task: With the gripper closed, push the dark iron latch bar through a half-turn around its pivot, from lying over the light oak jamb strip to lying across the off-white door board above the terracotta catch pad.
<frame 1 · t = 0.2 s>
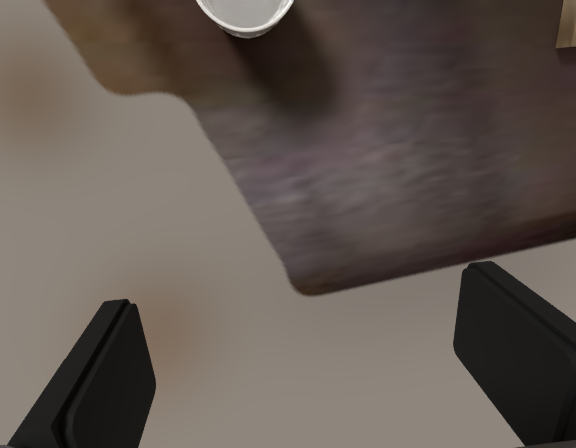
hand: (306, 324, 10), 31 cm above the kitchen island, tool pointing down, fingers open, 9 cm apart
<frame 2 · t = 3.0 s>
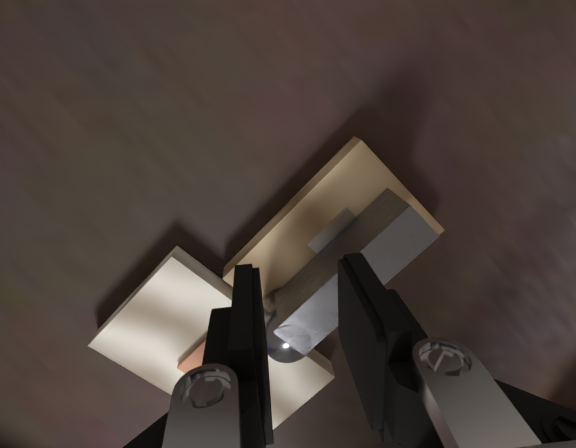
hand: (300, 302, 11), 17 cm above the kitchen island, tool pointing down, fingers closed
door and jamb: (280, 289, 31), on the kitchen island
latch bar: (336, 276, 26), point 5 cm above the kitchen island, hinge at 0.0°
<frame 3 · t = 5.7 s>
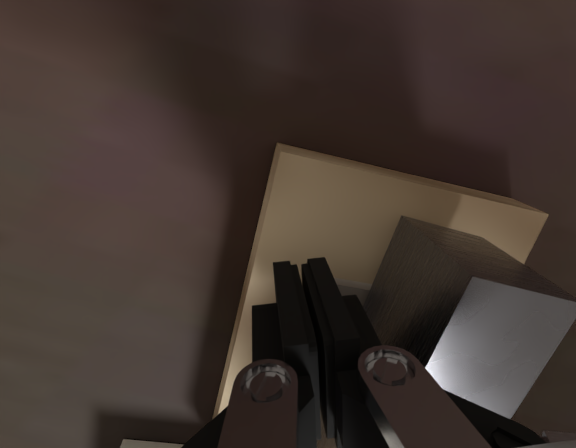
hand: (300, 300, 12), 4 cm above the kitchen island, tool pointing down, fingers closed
door and jamb: (313, 419, 18), on the kitchen island
latch bar: (382, 424, 12), point 5 cm above the kitchen island, hinge at -2.9°, touching gripper
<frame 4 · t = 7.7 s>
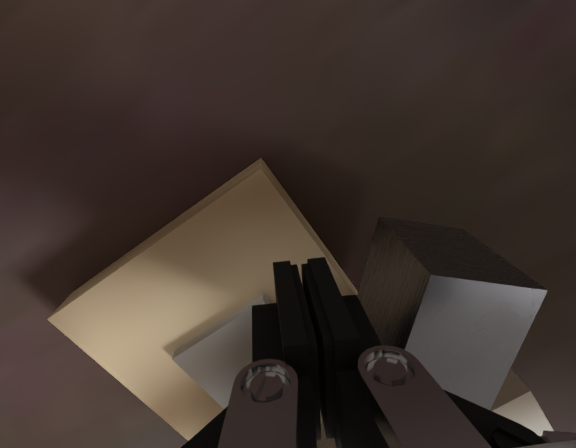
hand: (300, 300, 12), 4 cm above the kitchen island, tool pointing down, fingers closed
door and jamb: (330, 414, 19), on the kitchen island
latch bar: (383, 414, 13), point 5 cm above the kitchen island, hinge at -44.8°, touching gripper
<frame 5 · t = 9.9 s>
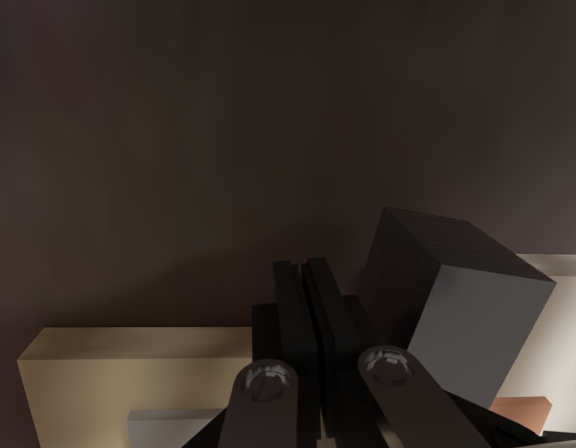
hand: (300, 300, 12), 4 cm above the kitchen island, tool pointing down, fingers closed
door and jamb: (324, 405, 19), on the kitchen island
latch bar: (382, 406, 13), point 5 cm above the kitchen island, hinge at -98.5°, touching gripper
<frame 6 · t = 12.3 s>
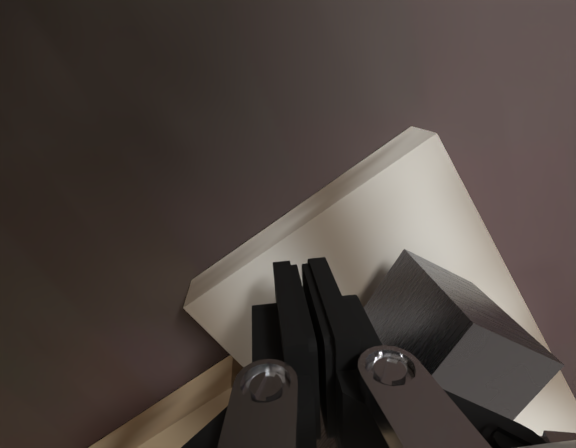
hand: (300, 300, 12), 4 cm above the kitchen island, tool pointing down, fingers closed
door and jamb: (271, 429, 18), on the kitchen island
latch bar: (347, 446, 13), point 5 cm above the kitchen island, hinge at -153.5°, touching gripper
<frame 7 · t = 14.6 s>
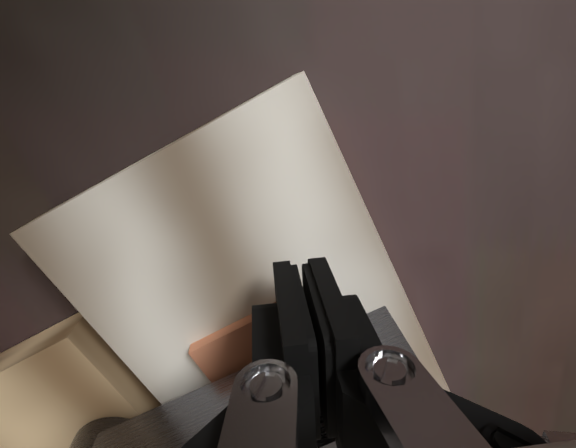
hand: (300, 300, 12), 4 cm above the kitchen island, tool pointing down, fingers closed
door and jamb: (133, 401, 17), on the kitchen island
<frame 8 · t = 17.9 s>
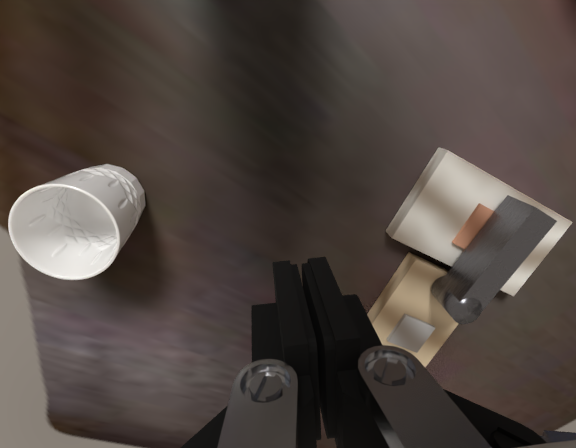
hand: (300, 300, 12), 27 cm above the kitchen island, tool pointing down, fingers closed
door and jamb: (435, 277, 44), on the kitchen island
white cup: (112, 196, 37), on the kitchen island
latch bar: (485, 260, 38), point 5 cm above the kitchen island, hinge at -182.4°
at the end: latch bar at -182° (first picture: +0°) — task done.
